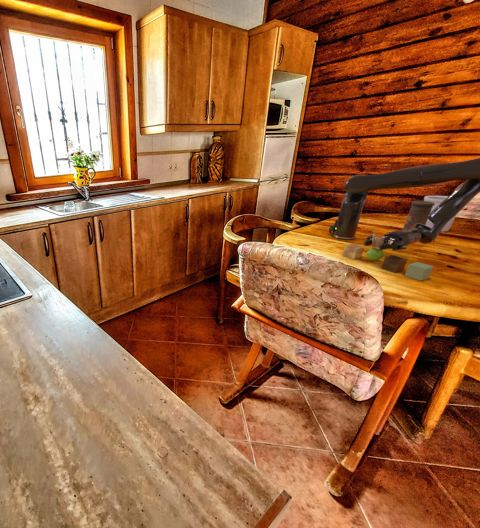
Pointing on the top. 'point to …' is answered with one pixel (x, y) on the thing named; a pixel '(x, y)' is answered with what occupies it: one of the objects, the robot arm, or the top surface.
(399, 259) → the walnut block
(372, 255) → the snail figurine
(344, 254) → the mauve cube
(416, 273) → the sage block
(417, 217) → the container
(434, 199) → the utensil holder
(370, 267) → the top surface
